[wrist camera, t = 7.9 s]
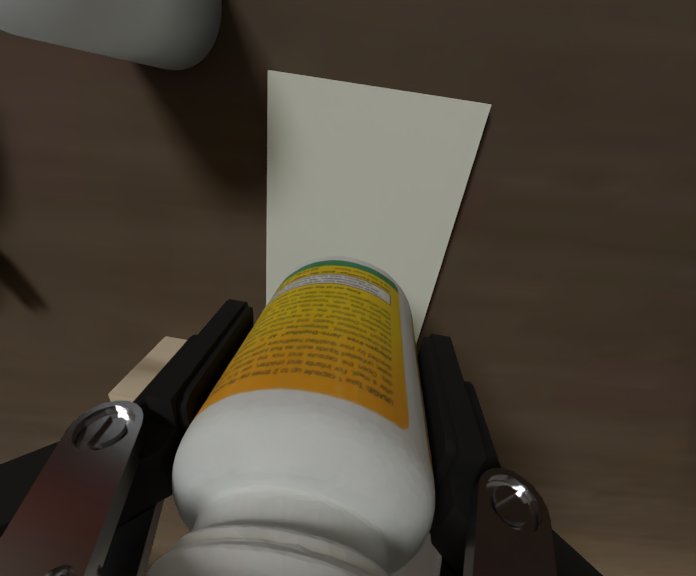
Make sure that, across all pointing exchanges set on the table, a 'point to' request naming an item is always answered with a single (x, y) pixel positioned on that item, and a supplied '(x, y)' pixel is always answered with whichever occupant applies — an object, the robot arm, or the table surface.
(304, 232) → the sage mat
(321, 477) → the supplement bottle
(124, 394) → the birch block
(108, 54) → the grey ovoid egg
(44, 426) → the table surface
